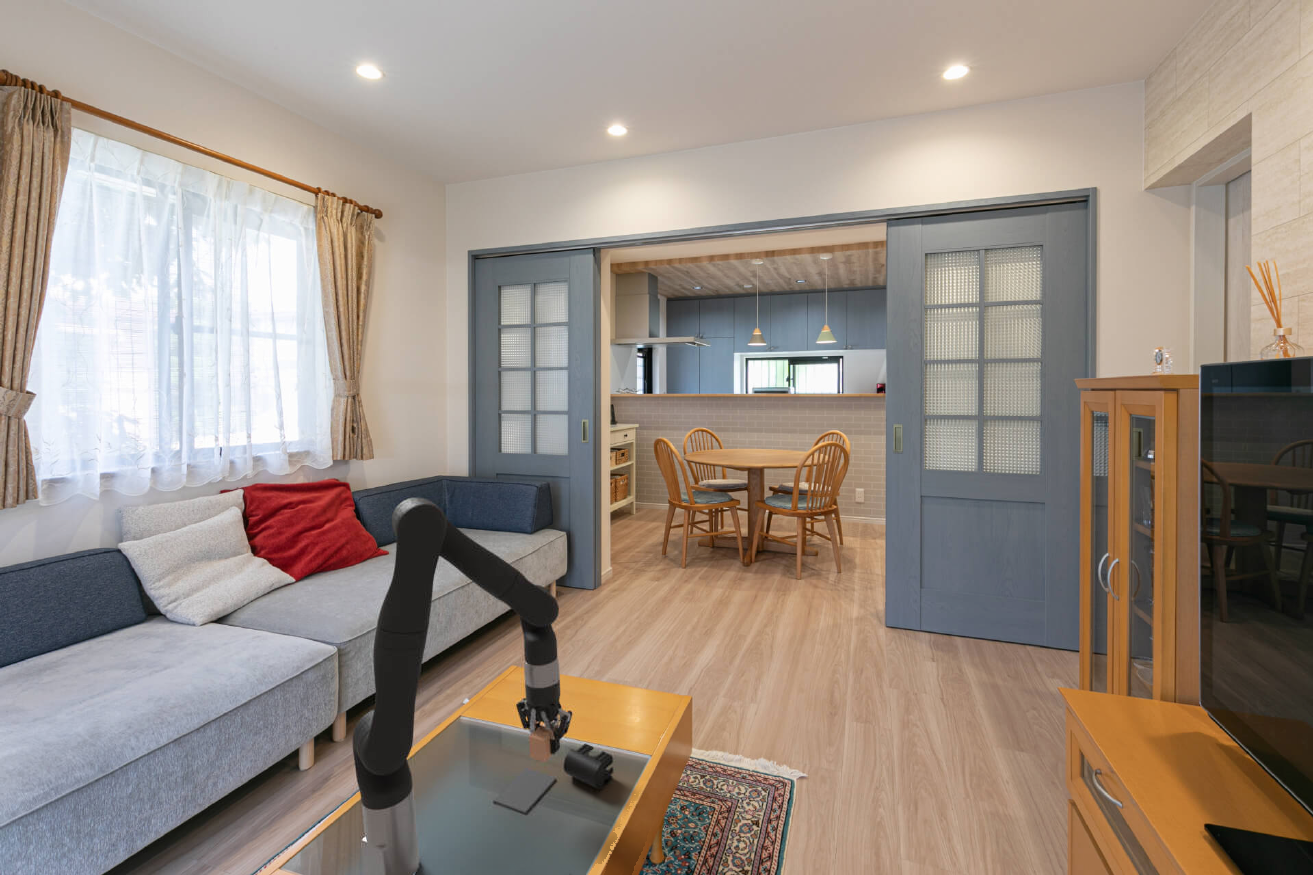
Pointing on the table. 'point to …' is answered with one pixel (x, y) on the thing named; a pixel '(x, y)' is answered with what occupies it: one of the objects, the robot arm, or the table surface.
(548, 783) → the mat
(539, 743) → the plug
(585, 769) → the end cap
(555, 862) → the table surface
